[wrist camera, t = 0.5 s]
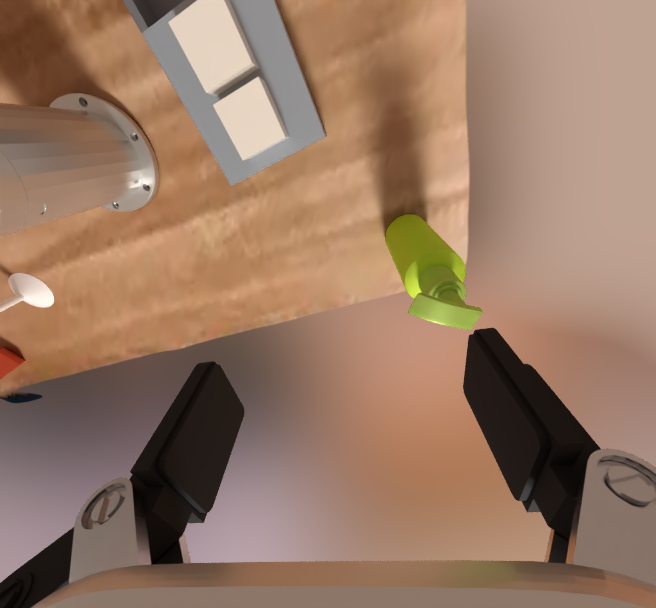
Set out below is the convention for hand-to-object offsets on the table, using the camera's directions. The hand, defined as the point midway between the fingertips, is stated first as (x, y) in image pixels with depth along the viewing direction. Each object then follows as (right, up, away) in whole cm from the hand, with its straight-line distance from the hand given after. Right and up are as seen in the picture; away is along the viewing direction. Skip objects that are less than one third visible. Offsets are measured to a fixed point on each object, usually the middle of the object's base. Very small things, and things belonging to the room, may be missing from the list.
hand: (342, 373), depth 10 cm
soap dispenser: (+10, +12, +27) cm, 32 cm away
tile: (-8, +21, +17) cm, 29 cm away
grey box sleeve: (-9, +26, +19) cm, 34 cm away
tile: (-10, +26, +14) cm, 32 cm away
